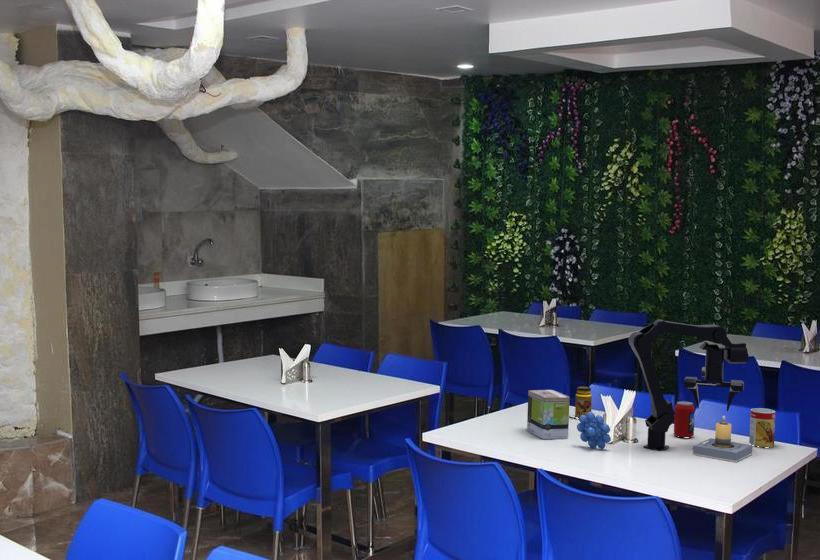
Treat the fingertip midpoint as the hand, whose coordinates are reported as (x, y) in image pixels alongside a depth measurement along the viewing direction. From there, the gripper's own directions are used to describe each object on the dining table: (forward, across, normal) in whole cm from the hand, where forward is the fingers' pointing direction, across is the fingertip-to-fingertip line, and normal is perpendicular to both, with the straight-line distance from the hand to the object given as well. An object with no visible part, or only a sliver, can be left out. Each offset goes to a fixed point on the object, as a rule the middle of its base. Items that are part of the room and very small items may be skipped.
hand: (712, 409), depth 313 cm
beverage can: (+13, +10, -14) cm, 22 cm away
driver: (+12, -4, +7) cm, 15 cm away
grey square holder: (+13, -4, +7) cm, 15 cm away
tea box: (+13, +55, +2) cm, 56 cm away
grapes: (+13, +36, +17) cm, 42 cm away
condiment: (+13, +49, -30) cm, 59 cm away
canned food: (+13, -16, -12) cm, 24 cm away
